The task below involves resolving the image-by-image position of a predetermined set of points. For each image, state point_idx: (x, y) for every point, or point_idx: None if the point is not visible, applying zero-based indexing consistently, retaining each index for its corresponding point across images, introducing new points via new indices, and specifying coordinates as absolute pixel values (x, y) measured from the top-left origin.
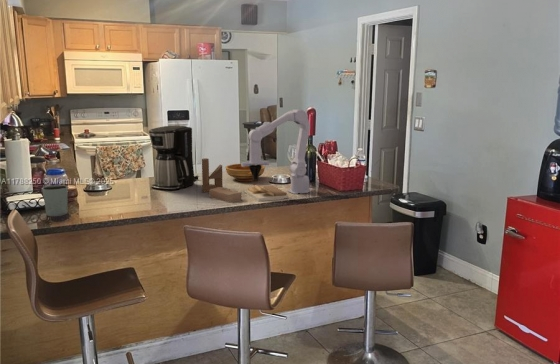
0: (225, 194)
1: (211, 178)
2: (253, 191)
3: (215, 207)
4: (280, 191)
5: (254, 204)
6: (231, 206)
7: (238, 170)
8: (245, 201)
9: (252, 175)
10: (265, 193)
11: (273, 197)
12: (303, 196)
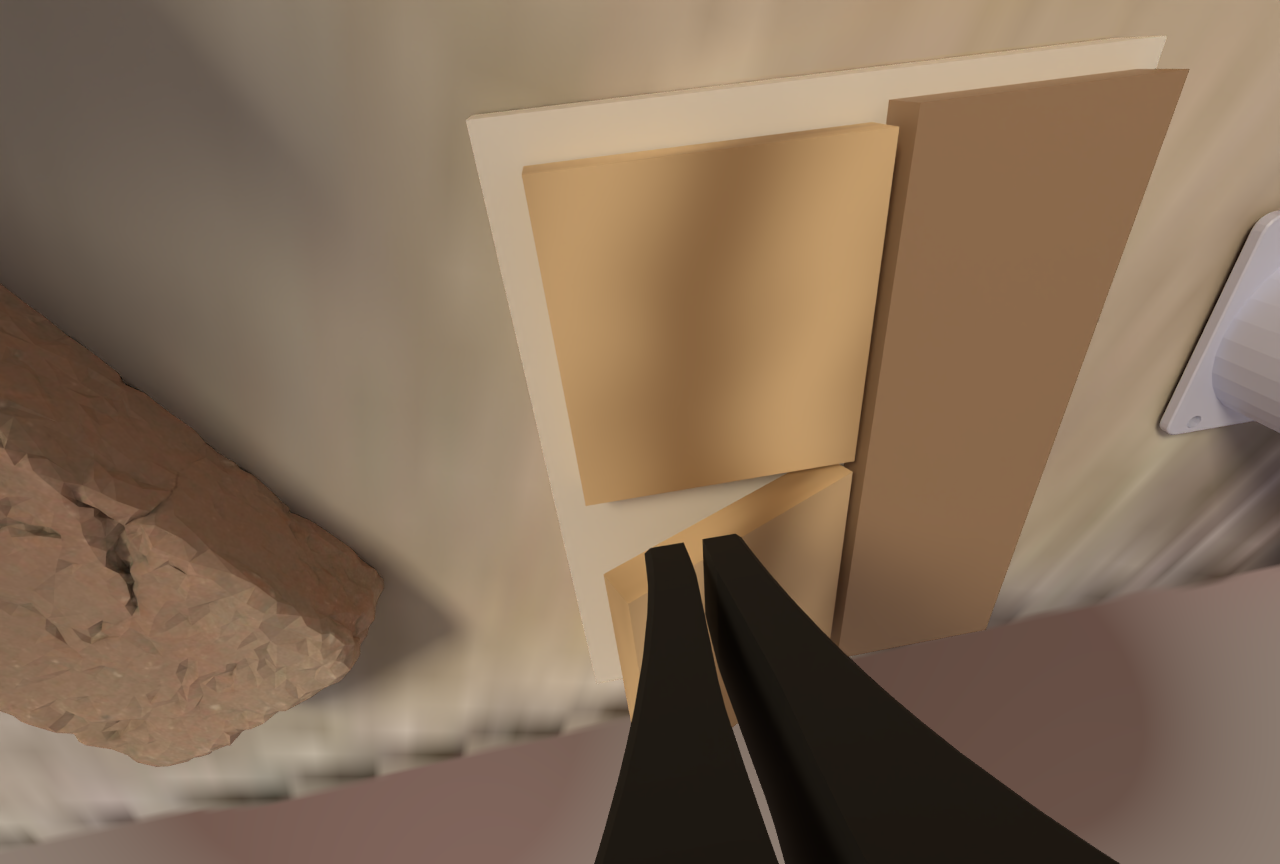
0: (74, 728)
1: None
2: (588, 502)
3: (80, 801)
4: (969, 562)
5: (526, 734)
6: (270, 778)
7: None
8: (435, 645)
9: (645, 642)
10: None
11: None
12: (1154, 529)
